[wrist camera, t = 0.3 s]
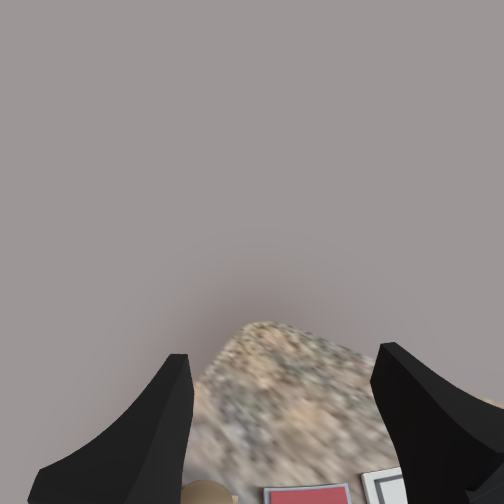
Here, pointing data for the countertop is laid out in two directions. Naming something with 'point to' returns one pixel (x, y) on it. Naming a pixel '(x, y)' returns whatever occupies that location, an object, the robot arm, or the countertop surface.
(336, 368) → the countertop surface
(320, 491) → the ink pad
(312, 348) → the countertop surface
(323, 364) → the countertop surface
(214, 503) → the stamp
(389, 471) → the marked board
